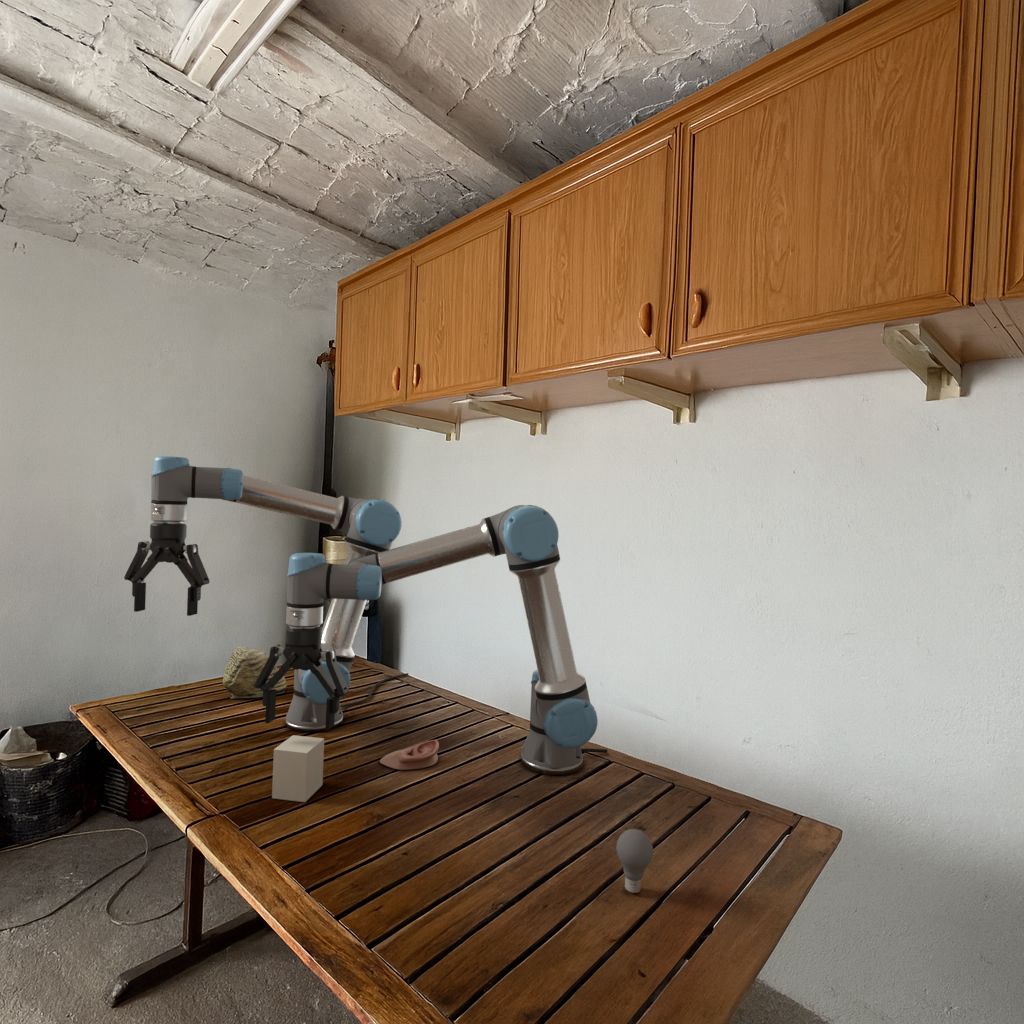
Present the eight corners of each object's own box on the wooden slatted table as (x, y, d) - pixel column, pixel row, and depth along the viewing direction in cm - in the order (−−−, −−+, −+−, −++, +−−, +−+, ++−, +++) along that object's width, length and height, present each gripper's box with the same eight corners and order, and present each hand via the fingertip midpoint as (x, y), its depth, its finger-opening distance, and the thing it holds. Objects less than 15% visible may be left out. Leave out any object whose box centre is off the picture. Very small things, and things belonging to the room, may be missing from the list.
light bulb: (610, 879, 108) (613, 822, 108) (644, 879, 109) (647, 822, 109) (619, 902, 102) (622, 840, 102) (655, 901, 103) (658, 840, 103)
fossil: (218, 695, 195) (220, 647, 195) (278, 685, 208) (279, 640, 207) (228, 703, 189) (230, 653, 188) (289, 692, 201) (290, 645, 201)
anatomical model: (374, 749, 149) (393, 732, 160) (374, 766, 149) (393, 748, 161) (428, 756, 147) (443, 739, 158) (427, 774, 147) (443, 754, 158)
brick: (291, 781, 140) (292, 735, 140) (322, 784, 139) (324, 738, 139) (271, 798, 132) (273, 749, 132) (305, 802, 131) (307, 752, 131)
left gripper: (108, 520, 146) (105, 611, 147) (207, 525, 143) (204, 619, 143) (132, 519, 154) (129, 606, 154) (227, 524, 150) (224, 613, 151)
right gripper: (240, 624, 133) (235, 724, 134) (352, 633, 129) (348, 736, 130) (259, 617, 141) (255, 712, 141) (366, 626, 137) (362, 724, 137)
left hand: (165, 612), depth 149 cm, fingers open, 13 cm apart
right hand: (299, 724), depth 135 cm, fingers open, 13 cm apart
